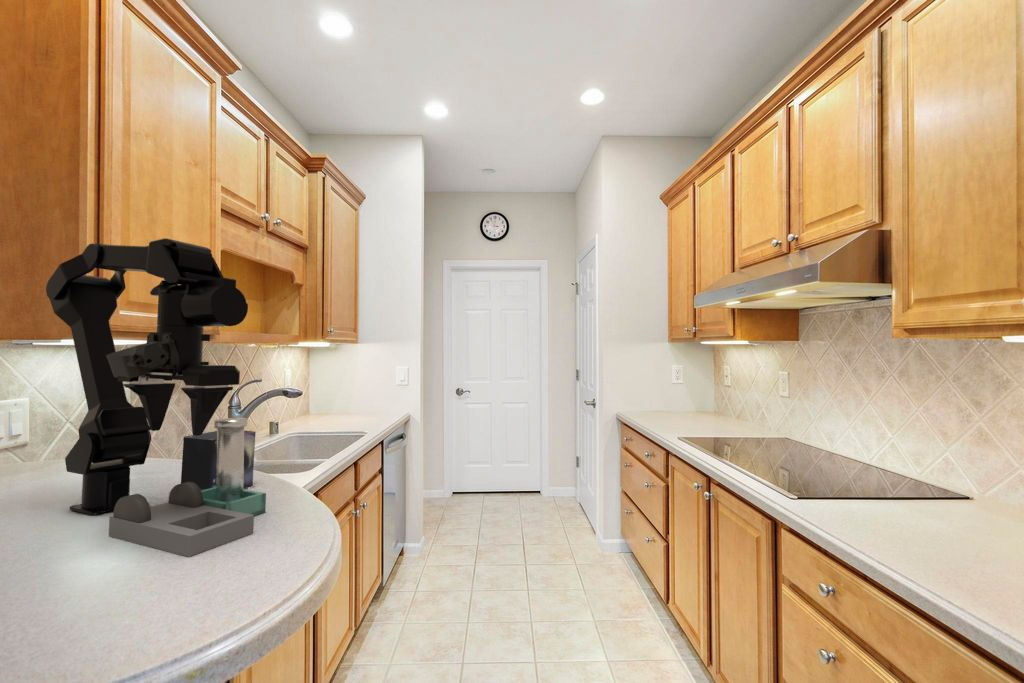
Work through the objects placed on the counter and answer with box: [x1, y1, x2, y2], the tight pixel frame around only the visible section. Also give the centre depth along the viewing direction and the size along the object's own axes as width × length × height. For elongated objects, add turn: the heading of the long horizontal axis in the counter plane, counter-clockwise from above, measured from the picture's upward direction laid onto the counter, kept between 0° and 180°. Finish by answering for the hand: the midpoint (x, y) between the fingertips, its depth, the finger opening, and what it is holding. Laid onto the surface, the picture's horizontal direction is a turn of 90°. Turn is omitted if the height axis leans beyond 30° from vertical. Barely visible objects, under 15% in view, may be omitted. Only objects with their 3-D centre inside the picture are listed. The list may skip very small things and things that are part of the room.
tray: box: [201, 487, 267, 517], centre depth 76 cm, size 10×7×3 cm
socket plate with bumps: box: [108, 482, 255, 558], centre depth 67 cm, size 16×9×6 cm, turn 68°
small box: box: [180, 430, 257, 491], centre depth 88 cm, size 11×6×10 cm, turn 168°
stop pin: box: [213, 417, 248, 503], centre depth 75 cm, size 4×4×14 cm
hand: (175, 432), depth 72 cm, fingers open, 9 cm apart
